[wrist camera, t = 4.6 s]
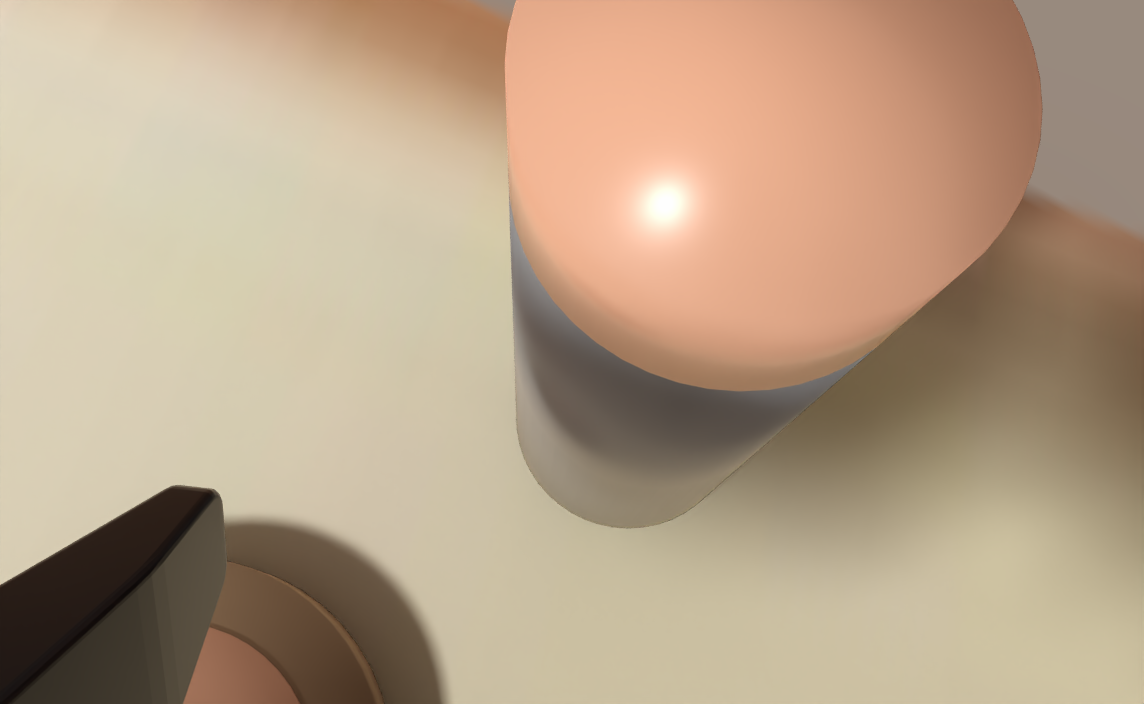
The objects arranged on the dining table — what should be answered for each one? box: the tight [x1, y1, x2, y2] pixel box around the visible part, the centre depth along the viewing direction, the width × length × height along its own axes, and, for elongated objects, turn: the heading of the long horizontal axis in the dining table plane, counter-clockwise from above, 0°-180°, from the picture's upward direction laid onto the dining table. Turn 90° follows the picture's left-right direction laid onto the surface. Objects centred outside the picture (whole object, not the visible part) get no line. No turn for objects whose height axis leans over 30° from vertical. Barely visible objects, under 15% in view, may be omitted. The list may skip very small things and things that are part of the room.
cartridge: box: [505, 0, 1042, 528], centre depth 15 cm, size 5×5×13 cm
